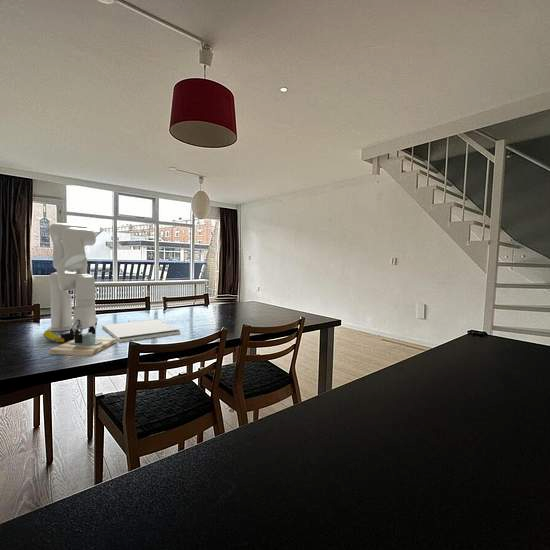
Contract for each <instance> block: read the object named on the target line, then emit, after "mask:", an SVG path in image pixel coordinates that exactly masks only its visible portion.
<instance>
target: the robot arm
mask: <svg viewBox="0 0 550 550" xmlns="http://www.w3.org/2000/svg"><path fill="white" fill-rule="evenodd" d="M48 232H49V237H50V239H51V241H52V245H53V246H52V266H53V268H54V269H55V270H56V271H55V272H52V273H50V274H49V276H48V285H49V289H50V290H49V291H50V326H48V327H47V330H50V331H51V332H63V331H64V332H65V331H70V330H71V328H72V330H73V333H74V335H75V343H79V344H81V343H82V334H83V331H84V330H86V329H87V330H88V331H87V333H89V332H92V334H95V338H97V337H96V336H97V335H96V333H97V331H96V330H97V325H98V319H99V318H98V317H97V316H96V307H95V306H96V301H95V300H96V279H95V276H93V275H92V274H90V273H88V260H87V256H86V255H87V254H86V249H85V246H94V245H95V244H96V240H97V235H96V233H95V231H94V230H93V229H92V227H90V226H88V225H86V224H77V223H76V224H75V223H65V222H63V223H62V222H54V223H52V224H50V225H49V231H48ZM69 291H75V307H74V308H72V307H73V306H72V295H71V294H70V293H69ZM72 309H74V310H73V311H72ZM72 312H73V313H72ZM72 314H73V315H72ZM72 316H73V317H72ZM78 330H79V331H78Z"/></svg>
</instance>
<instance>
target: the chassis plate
mask: <svg viewBox="0 0 550 550" xmlns="http://www.w3.org/2000/svg"><path fill="white" fill-rule="evenodd" d="M74 341H75V339H74V340H71V341H66V342H63V344H59V345H57V346H54V347H52V348H50V349H49V354H50V355H65V356H66V355H67V356H71V355H72V356H88V355H89V357H90V356H94V355H96V354H98V353H99V351H100V352H102V351H103V350H105V349H107V348H109V347H111V346H113V345H114V343H115V344H116V342H118V341H117V339H116V338H114V337H112V338H111V337H95V341H99V342H102V343H101V344H99V345H91V346H84V345H73V344H70V343H72V342H74ZM112 344H113V345H112ZM110 345H111V346H110ZM101 350H102V351H101Z"/></svg>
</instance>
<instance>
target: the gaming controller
mask: <svg viewBox="0 0 550 550" xmlns="http://www.w3.org/2000/svg"><path fill="white" fill-rule="evenodd" d="M78 331H80V330H78ZM43 337H44V338H45V339H47V340H49V341H51V342H54V343H55V342H56V343H55V344H59V343H58V342H60V343H66V342H69V341H71V340H74V339H75V335H74V333H73V330H72V328H71V330H69V332H67V333H60V334H55V333H54V332H53V331H50V330H48V329H46V330H45V331H44V333H43Z"/></svg>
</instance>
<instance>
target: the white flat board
mask: <svg viewBox="0 0 550 550" xmlns="http://www.w3.org/2000/svg"><path fill="white" fill-rule="evenodd" d="M101 326H102V329H103V330H104V329H105V330H106V331H107V334H109V335H110V334H111V335H112V336H111V335H110V336H111V337H112V338H116V339H117V340H118V341H117V342H119V343H123V342H122V341H126V342H130V341H129V340H133V339H140V340H145V339H144V338H147V339H153V337H154V338H161V337H166V335H168V336H173V334H175V335H180V334H181V330H180V329H177V328H176V327H173V326H172V325H170V324H168V323H165V322H164V321H162V320H159V319H157V318H155V319H144V320H136V321H125V322H116V323H107V324H102V325H101ZM105 330H104V331H105ZM106 331H105V332H106ZM160 336H161V337H160ZM133 341H134V340H133Z"/></svg>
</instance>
